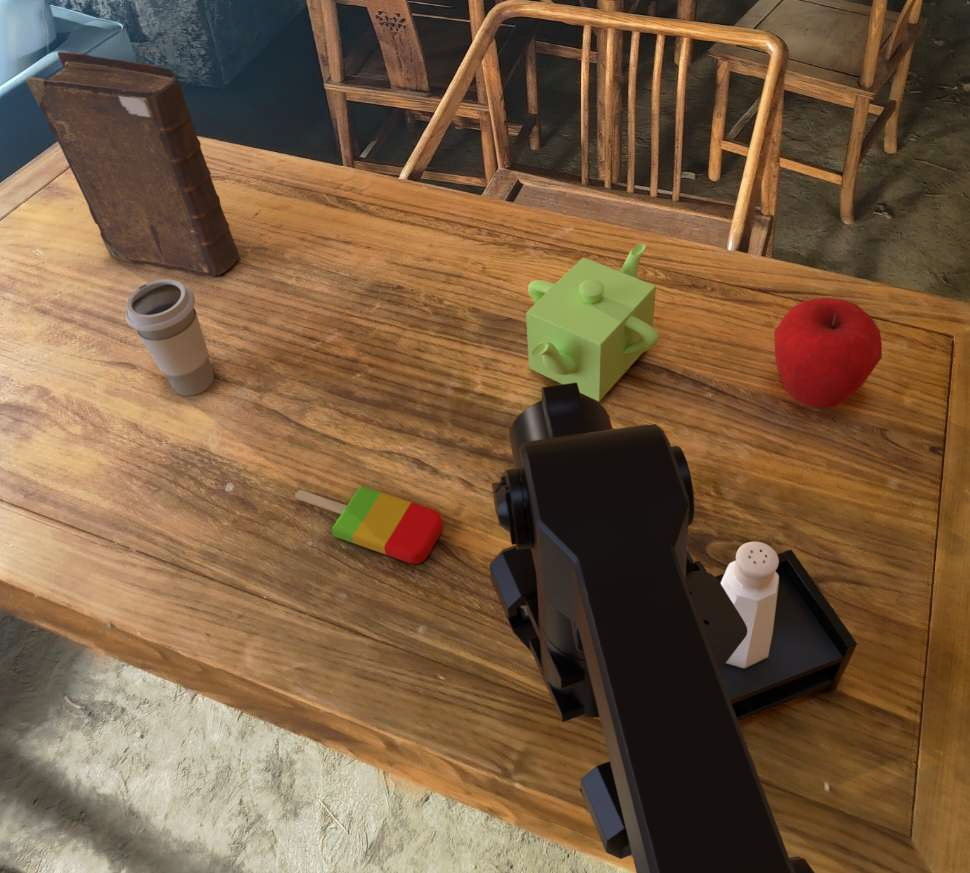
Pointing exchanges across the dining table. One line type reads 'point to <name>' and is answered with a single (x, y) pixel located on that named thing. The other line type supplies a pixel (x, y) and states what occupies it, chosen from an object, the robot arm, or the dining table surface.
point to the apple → (826, 351)
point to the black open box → (792, 647)
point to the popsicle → (383, 523)
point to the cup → (172, 334)
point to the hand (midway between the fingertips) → (590, 736)
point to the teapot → (591, 324)
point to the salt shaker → (753, 599)
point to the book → (137, 162)
